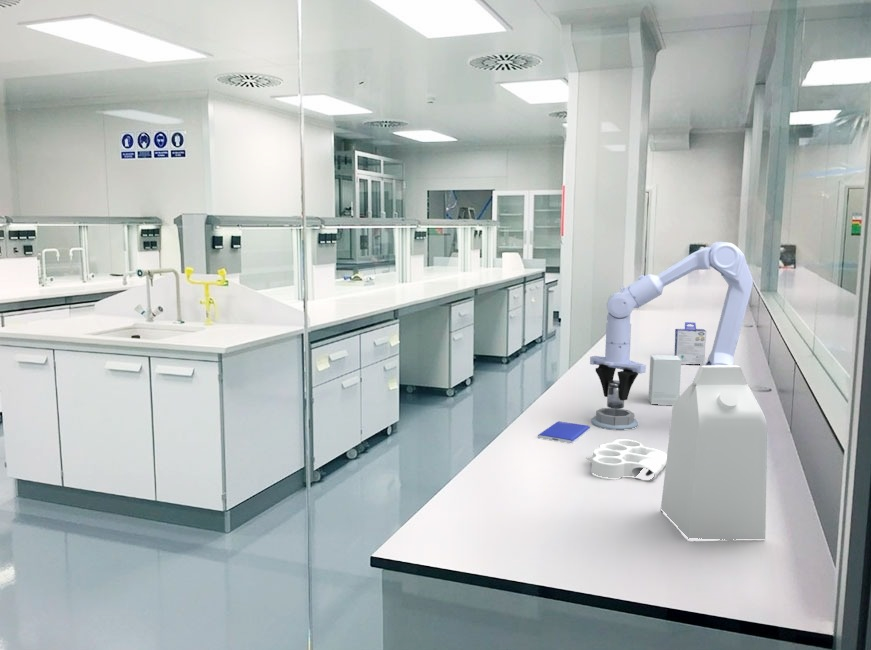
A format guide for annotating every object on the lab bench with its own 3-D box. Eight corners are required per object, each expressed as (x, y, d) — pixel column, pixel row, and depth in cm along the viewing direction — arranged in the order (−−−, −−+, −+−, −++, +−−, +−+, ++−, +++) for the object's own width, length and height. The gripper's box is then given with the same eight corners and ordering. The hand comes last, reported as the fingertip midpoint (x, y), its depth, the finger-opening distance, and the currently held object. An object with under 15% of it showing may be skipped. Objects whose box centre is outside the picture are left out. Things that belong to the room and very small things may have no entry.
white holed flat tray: (650, 489, 128) (574, 474, 136) (673, 462, 143) (603, 450, 151) (650, 472, 128) (574, 458, 135) (674, 446, 143) (604, 435, 150)
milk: (730, 510, 118) (740, 359, 114) (765, 540, 107) (777, 373, 103) (660, 511, 117) (668, 359, 114) (688, 541, 106) (697, 374, 102)
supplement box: (679, 406, 187) (681, 360, 185) (650, 405, 188) (652, 358, 186) (675, 400, 194) (678, 355, 192) (647, 398, 195) (650, 354, 193)
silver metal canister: (627, 406, 169) (628, 382, 168) (617, 410, 166) (618, 385, 165) (612, 403, 172) (613, 379, 171) (601, 406, 169) (602, 382, 168)
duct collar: (645, 429, 165) (646, 418, 165) (600, 430, 164) (601, 419, 163) (627, 417, 176) (628, 406, 175) (585, 418, 175) (585, 407, 174)
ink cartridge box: (701, 362, 248) (704, 322, 246) (705, 365, 242) (707, 324, 240) (672, 361, 249) (675, 321, 247) (675, 364, 244) (677, 323, 242)
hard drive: (557, 420, 168) (537, 433, 158) (590, 425, 164) (572, 439, 154) (556, 427, 169) (537, 440, 158) (589, 432, 165) (572, 446, 154)
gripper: (583, 340, 170) (581, 394, 172) (634, 348, 159) (631, 406, 161) (600, 337, 174) (598, 390, 176) (651, 345, 163) (649, 401, 165)
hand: (615, 397), depth 169 cm, fingers closed on silver metal canister, 4 cm apart
